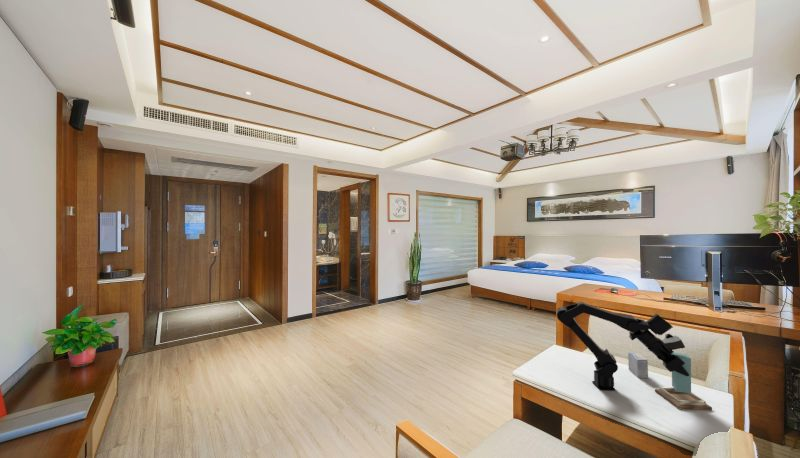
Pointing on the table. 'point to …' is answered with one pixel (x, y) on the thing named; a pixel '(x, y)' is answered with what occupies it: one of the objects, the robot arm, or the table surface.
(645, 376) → the medicine box
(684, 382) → the column block
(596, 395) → the table surface
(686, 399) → the base plate
